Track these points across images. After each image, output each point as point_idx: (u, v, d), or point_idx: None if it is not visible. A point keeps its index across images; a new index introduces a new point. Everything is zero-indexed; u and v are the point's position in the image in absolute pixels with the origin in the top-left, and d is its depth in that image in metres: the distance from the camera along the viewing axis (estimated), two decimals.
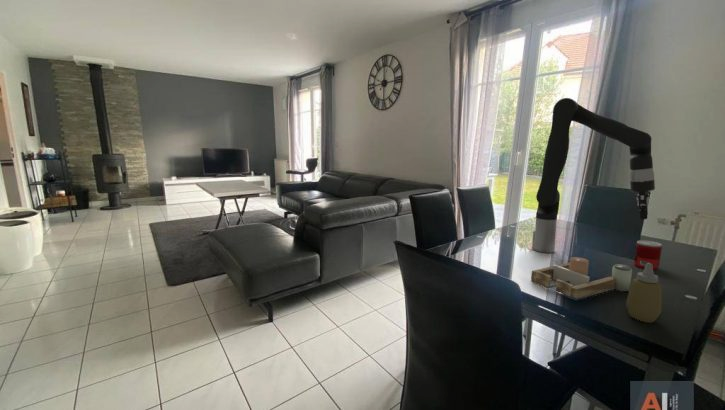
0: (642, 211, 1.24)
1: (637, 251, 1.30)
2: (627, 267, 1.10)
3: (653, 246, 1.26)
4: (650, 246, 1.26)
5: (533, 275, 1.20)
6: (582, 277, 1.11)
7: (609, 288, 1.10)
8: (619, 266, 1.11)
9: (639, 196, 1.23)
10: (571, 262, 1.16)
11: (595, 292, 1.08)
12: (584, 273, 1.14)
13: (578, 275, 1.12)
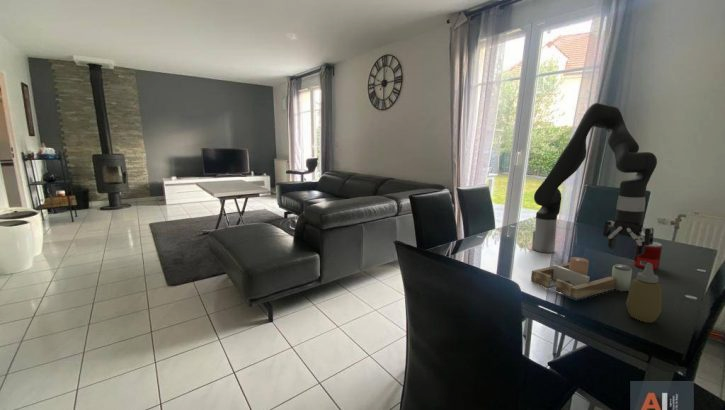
0: None
1: None
2: (627, 267, 1.10)
3: (653, 246, 1.26)
4: (650, 246, 1.26)
5: (533, 275, 1.20)
6: (582, 277, 1.11)
7: (609, 288, 1.10)
8: (619, 266, 1.11)
9: None
10: (571, 262, 1.16)
11: (595, 292, 1.08)
12: (584, 273, 1.14)
13: (578, 275, 1.12)
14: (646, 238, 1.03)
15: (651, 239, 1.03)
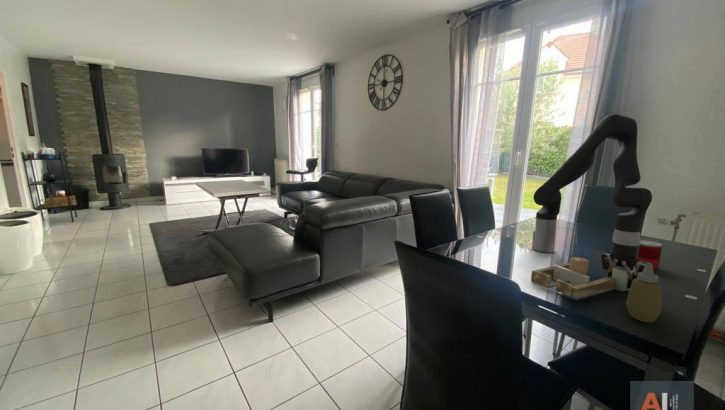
0: None
1: None
2: None
3: (653, 246, 1.26)
4: (650, 246, 1.26)
5: (533, 275, 1.20)
6: (582, 277, 1.11)
7: (609, 288, 1.10)
8: None
9: None
10: (571, 262, 1.16)
11: (595, 292, 1.08)
12: (584, 273, 1.14)
13: (578, 275, 1.12)
14: (637, 273, 1.06)
15: None
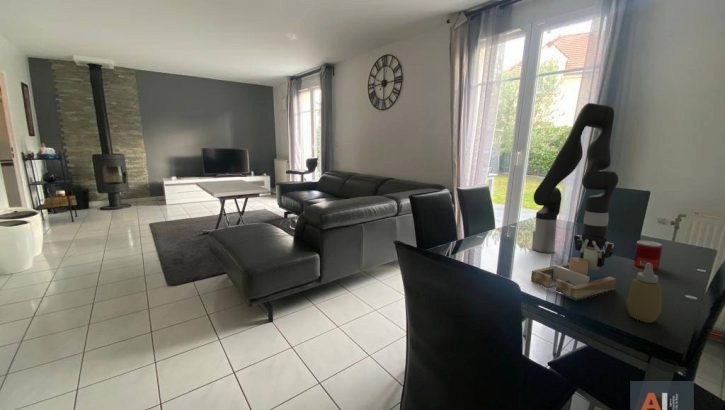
0: None
1: (637, 251, 1.30)
2: None
3: (653, 246, 1.26)
4: (650, 246, 1.26)
5: (533, 275, 1.20)
6: (582, 277, 1.11)
7: (609, 288, 1.10)
8: None
9: None
10: (571, 262, 1.16)
11: (595, 292, 1.08)
12: (584, 273, 1.14)
13: (578, 275, 1.12)
14: (606, 252, 1.12)
15: (611, 253, 1.12)
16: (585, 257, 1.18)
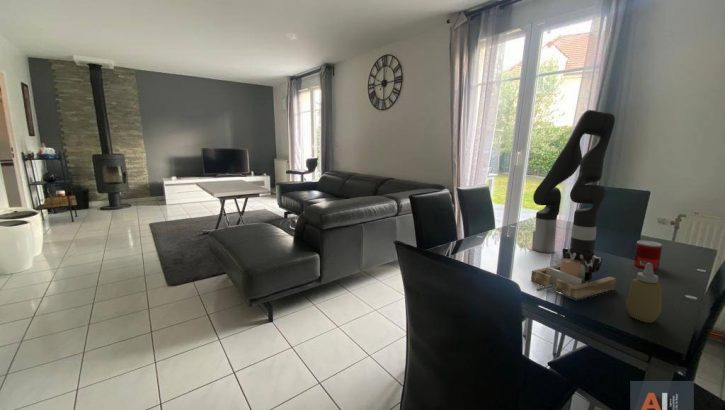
0: None
1: (637, 251, 1.30)
2: None
3: (653, 246, 1.26)
4: (650, 246, 1.26)
5: (533, 275, 1.20)
6: (574, 279, 1.09)
7: (609, 288, 1.10)
8: (577, 260, 1.16)
9: None
10: (562, 264, 1.14)
11: (595, 292, 1.08)
12: (576, 275, 1.12)
13: (570, 277, 1.11)
14: (593, 266, 1.11)
15: (598, 267, 1.11)
16: None
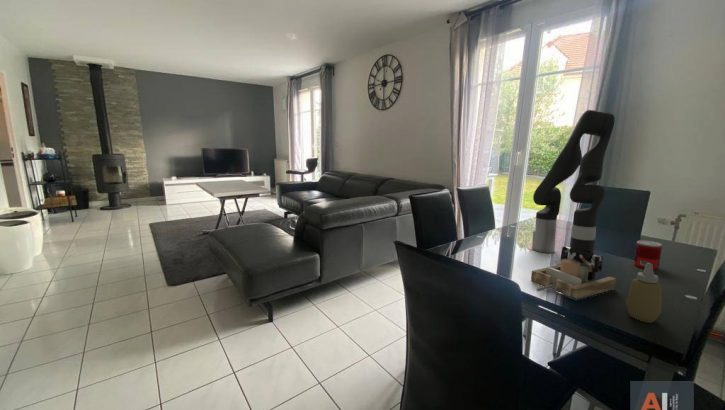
0: None
1: (637, 251, 1.30)
2: None
3: (653, 246, 1.26)
4: (650, 246, 1.26)
5: (533, 275, 1.20)
6: (574, 279, 1.09)
7: (609, 288, 1.10)
8: None
9: None
10: (562, 264, 1.14)
11: (595, 292, 1.08)
12: (576, 275, 1.12)
13: (570, 277, 1.11)
14: (595, 265, 1.10)
15: (600, 266, 1.10)
16: None
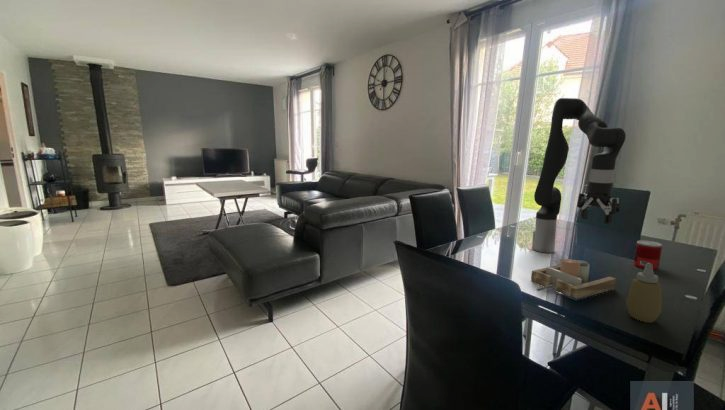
0: None
1: (637, 251, 1.30)
2: (585, 263, 1.15)
3: (653, 246, 1.26)
4: (650, 246, 1.26)
5: (533, 275, 1.20)
6: (574, 279, 1.09)
7: (609, 288, 1.10)
8: None
9: None
10: (562, 264, 1.14)
11: (595, 292, 1.08)
12: (576, 275, 1.12)
13: (570, 277, 1.11)
14: (612, 207, 1.11)
15: (617, 208, 1.11)
16: None
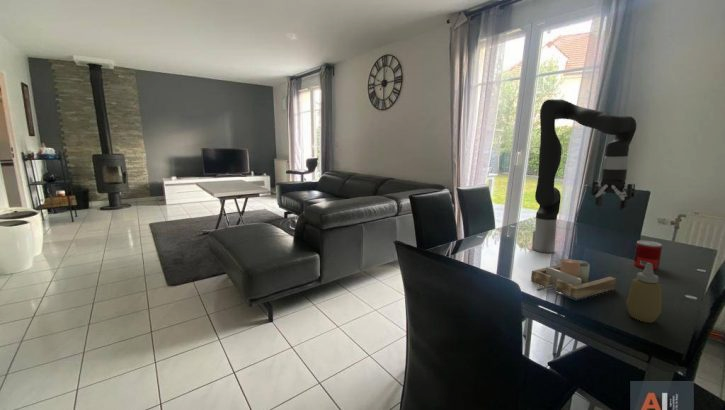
0: None
1: (637, 251, 1.30)
2: (585, 263, 1.15)
3: (653, 246, 1.26)
4: (650, 246, 1.26)
5: (533, 275, 1.20)
6: (574, 279, 1.09)
7: (609, 288, 1.10)
8: None
9: None
10: (562, 264, 1.14)
11: (595, 292, 1.08)
12: (576, 275, 1.12)
13: (570, 277, 1.11)
14: (628, 193, 1.15)
15: (633, 194, 1.15)
16: None
